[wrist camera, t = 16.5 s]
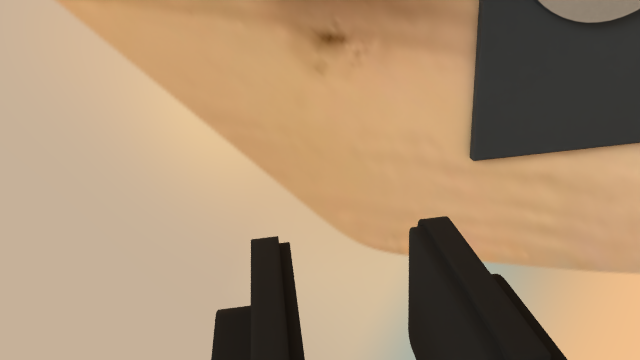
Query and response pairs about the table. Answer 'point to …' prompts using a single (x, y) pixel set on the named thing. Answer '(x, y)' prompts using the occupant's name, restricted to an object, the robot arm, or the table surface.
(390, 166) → the table surface
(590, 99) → the mat
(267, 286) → the robot arm
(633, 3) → the black rod on disc
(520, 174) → the table surface
